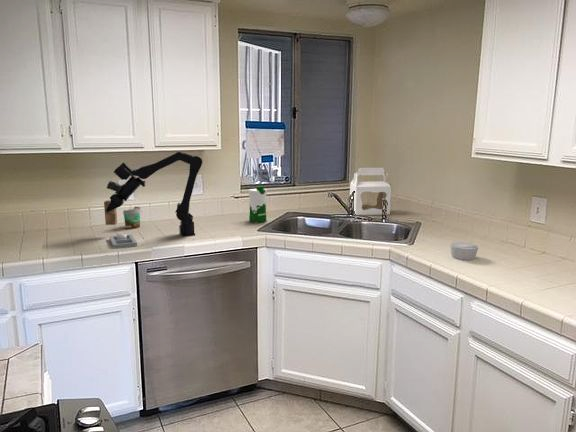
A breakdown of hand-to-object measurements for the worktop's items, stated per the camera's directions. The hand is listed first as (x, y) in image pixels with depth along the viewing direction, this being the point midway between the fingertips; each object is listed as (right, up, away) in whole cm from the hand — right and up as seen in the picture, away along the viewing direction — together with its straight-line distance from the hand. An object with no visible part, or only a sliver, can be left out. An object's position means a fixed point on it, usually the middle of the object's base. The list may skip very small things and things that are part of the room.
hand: (107, 210), depth 233 cm
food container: (+6, -9, +23) cm, 26 cm away
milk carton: (+69, -6, +42) cm, 81 cm away
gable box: (+137, -1, +69) cm, 153 cm away
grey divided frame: (+11, -15, -9) cm, 21 cm away
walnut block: (+1, -6, +2) cm, 7 cm away
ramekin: (+160, -20, -28) cm, 164 cm away
